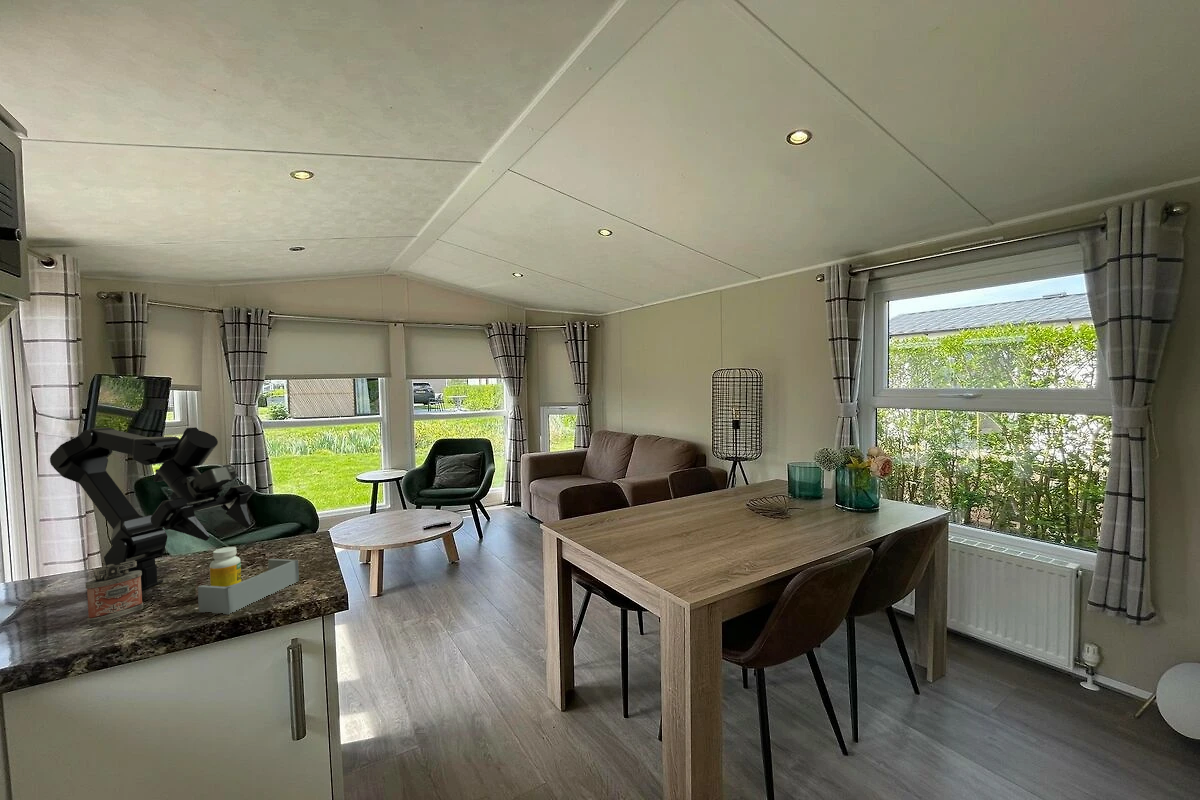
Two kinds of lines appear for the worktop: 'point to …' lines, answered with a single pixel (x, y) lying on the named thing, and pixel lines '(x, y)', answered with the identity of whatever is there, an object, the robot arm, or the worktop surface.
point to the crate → (248, 588)
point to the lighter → (114, 592)
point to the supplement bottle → (225, 567)
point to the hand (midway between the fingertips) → (229, 532)
